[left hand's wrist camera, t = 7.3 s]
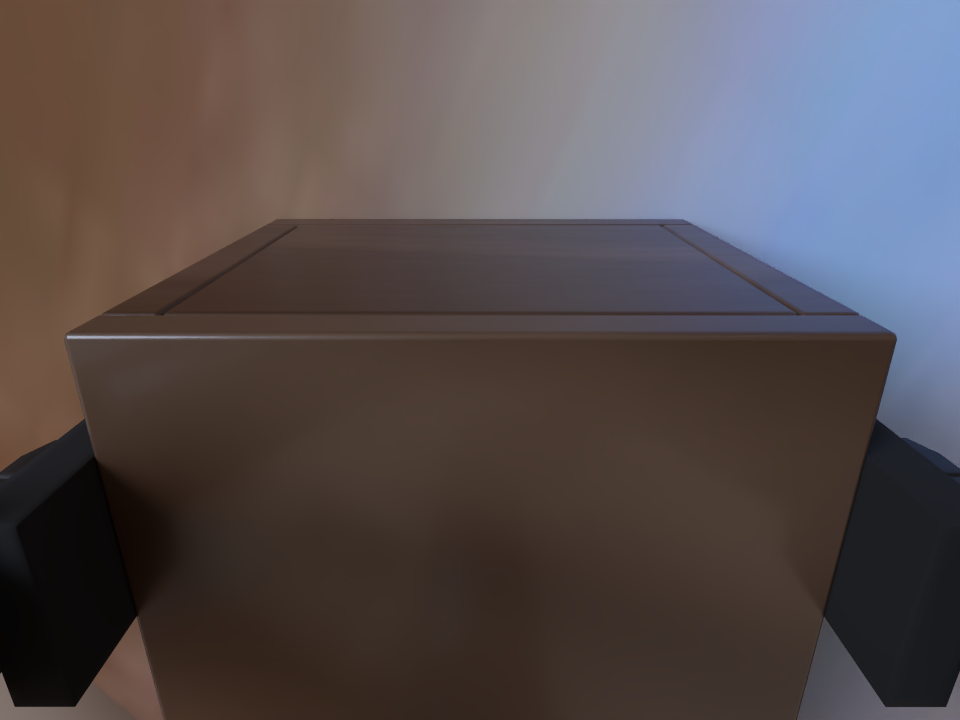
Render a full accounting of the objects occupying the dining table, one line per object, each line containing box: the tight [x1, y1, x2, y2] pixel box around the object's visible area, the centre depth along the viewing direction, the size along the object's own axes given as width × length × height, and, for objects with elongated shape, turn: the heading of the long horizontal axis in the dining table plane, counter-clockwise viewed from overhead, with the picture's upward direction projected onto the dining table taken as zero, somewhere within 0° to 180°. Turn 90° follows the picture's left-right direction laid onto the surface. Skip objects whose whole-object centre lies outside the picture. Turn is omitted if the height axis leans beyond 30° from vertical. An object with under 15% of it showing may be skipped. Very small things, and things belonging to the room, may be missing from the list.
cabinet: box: [64, 219, 897, 720], centre depth 15 cm, size 20×10×8 cm, turn 0°
